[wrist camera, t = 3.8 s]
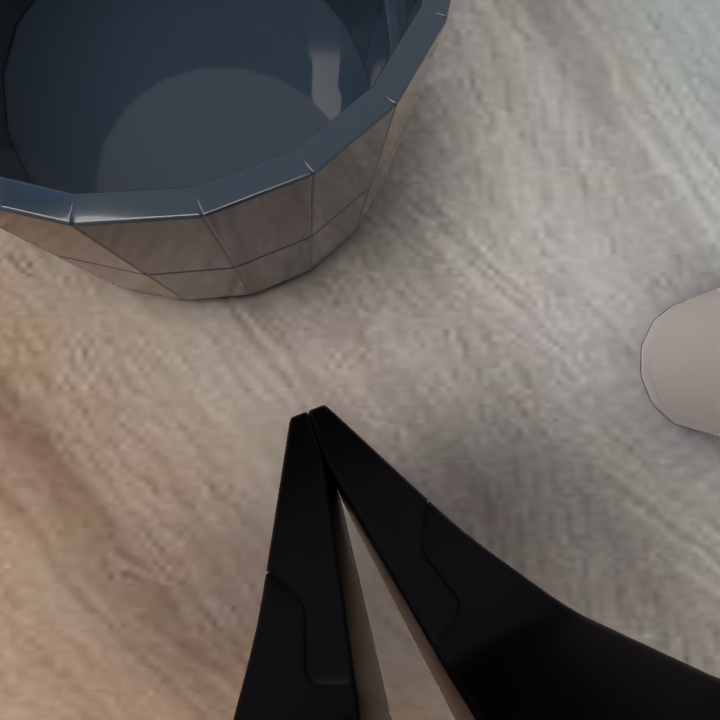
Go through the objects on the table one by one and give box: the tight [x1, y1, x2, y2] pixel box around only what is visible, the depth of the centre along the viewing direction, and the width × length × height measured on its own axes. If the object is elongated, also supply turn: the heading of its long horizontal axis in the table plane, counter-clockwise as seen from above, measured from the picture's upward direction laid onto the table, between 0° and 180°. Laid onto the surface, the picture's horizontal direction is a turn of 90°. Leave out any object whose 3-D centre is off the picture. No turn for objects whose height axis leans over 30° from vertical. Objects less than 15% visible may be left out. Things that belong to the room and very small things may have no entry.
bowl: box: [0, 0, 451, 300], centre depth 13 cm, size 16×16×8 cm
